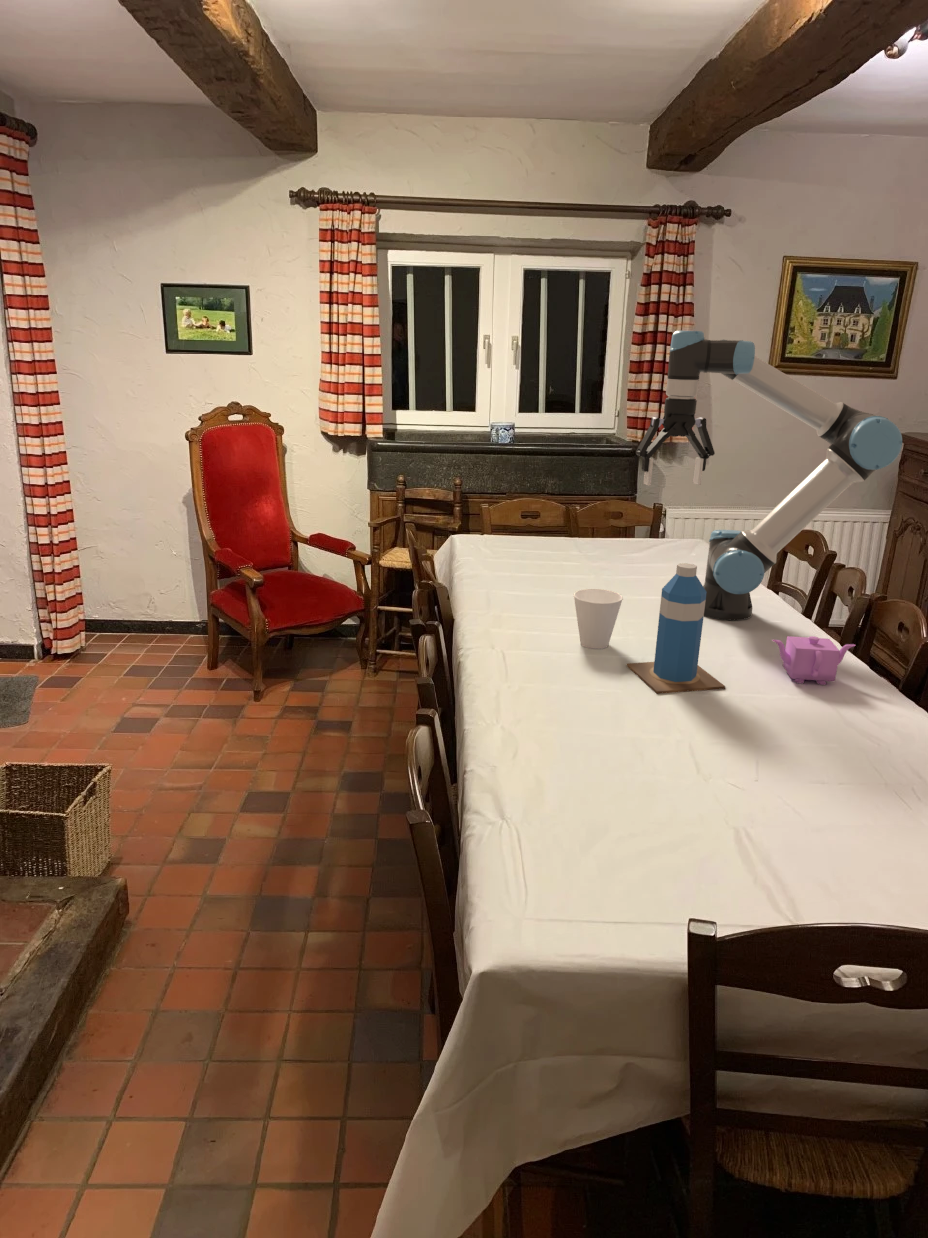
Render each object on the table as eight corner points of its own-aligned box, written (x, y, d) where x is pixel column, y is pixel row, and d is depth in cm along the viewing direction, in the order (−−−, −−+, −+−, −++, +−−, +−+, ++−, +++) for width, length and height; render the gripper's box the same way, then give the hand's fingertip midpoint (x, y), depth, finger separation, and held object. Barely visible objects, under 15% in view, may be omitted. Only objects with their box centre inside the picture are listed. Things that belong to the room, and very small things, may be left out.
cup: (628, 644, 206) (632, 596, 202) (600, 656, 198) (604, 606, 194) (588, 632, 214) (591, 585, 210) (560, 643, 205) (563, 595, 201)
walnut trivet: (690, 661, 196) (690, 658, 196) (725, 688, 181) (725, 685, 181) (626, 665, 192) (626, 663, 192) (656, 694, 178) (657, 690, 177)
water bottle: (697, 684, 181) (711, 573, 173) (653, 680, 183) (665, 569, 175) (694, 668, 190) (707, 561, 182) (652, 664, 192) (664, 558, 184)
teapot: (839, 668, 194) (846, 629, 191) (857, 691, 182) (865, 649, 178) (759, 663, 196) (765, 624, 193) (772, 685, 183) (778, 644, 180)
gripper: (719, 396, 210) (709, 481, 217) (627, 395, 205) (619, 482, 212) (735, 398, 203) (724, 486, 210) (640, 398, 198) (632, 487, 205)
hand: (672, 484), depth 211 cm, fingers open, 13 cm apart
